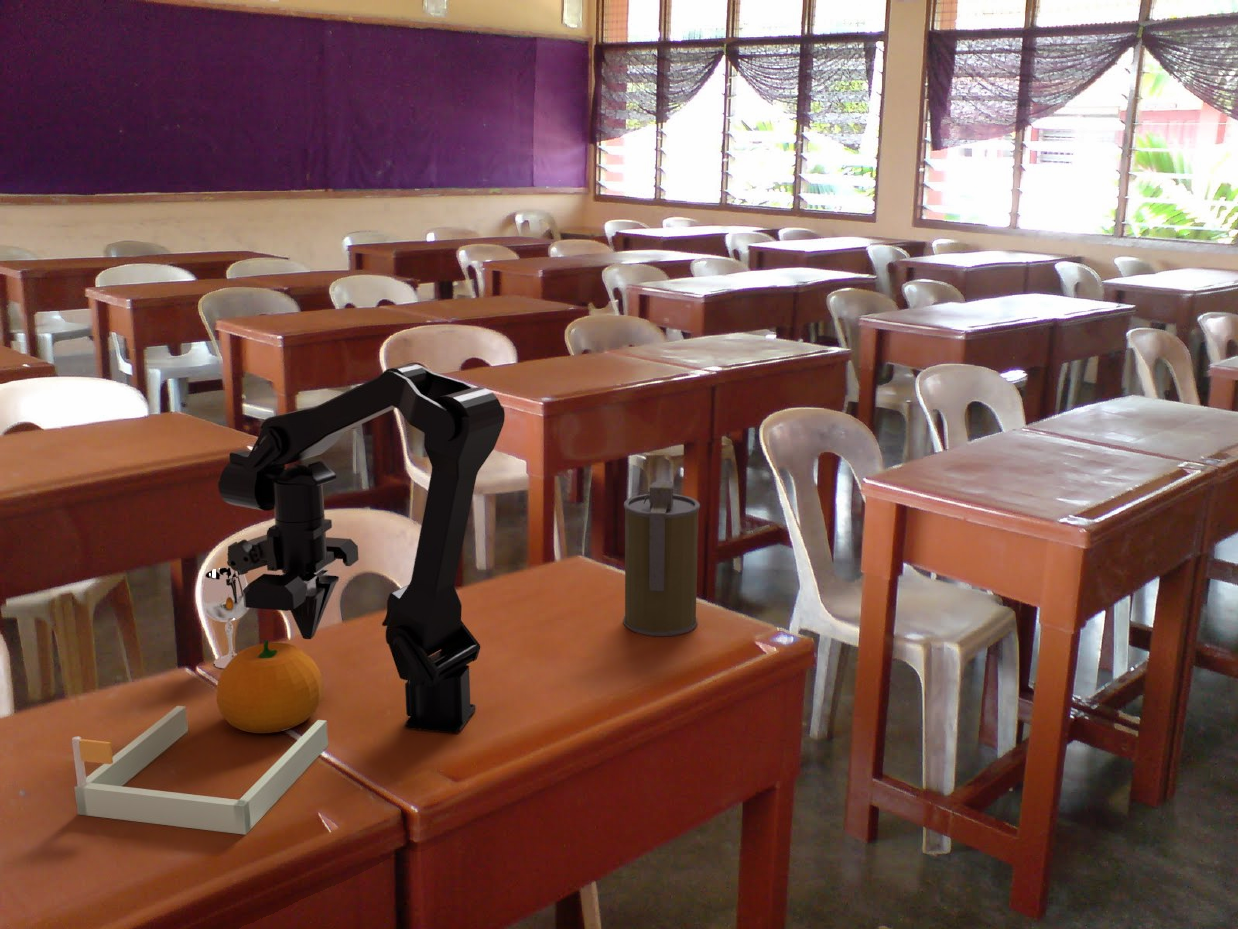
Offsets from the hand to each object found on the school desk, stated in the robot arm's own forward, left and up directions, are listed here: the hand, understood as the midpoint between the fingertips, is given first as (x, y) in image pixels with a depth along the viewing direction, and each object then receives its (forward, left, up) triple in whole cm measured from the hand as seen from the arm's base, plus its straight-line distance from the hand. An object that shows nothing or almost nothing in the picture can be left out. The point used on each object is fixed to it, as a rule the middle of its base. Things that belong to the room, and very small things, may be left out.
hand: (308, 638), depth 142 cm
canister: (-39, -28, -6) cm, 48 cm away
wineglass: (+13, -4, -6) cm, 15 cm away
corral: (0, +23, -6) cm, 24 cm away
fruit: (0, +10, -6) cm, 12 cm away
